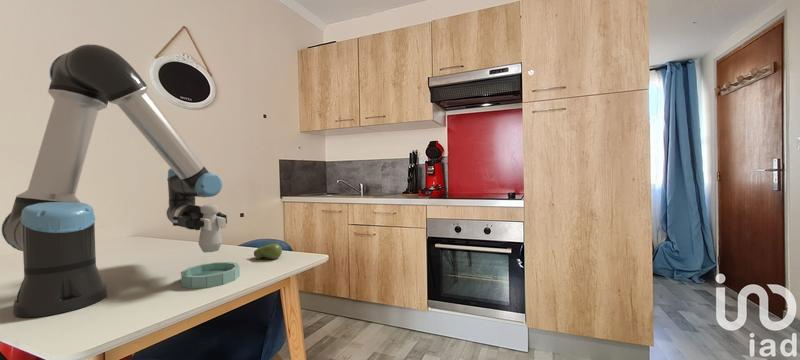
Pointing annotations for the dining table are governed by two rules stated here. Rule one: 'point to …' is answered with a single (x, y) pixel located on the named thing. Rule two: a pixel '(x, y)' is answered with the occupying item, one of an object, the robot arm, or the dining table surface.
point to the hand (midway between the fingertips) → (217, 224)
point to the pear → (268, 251)
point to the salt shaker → (210, 238)
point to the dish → (209, 275)
